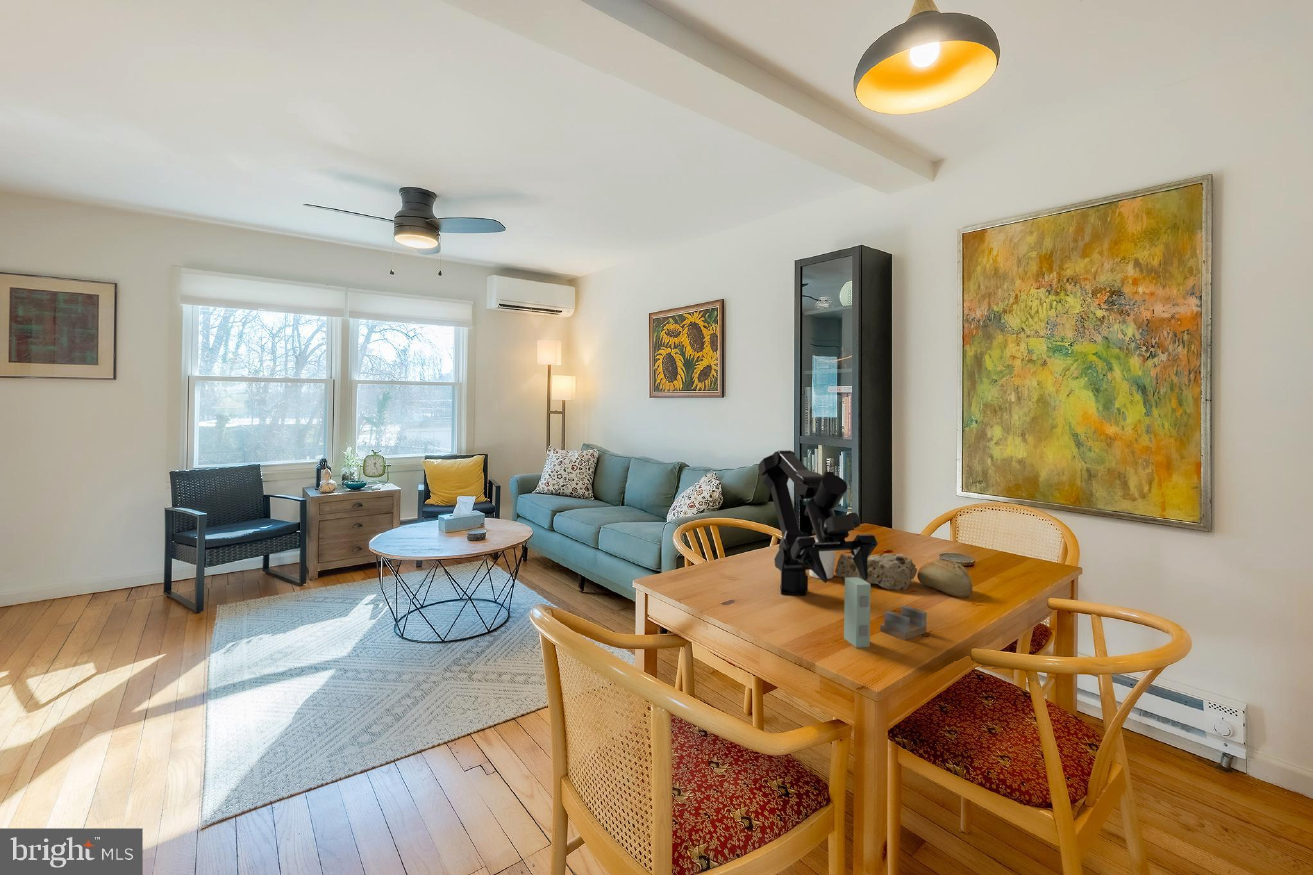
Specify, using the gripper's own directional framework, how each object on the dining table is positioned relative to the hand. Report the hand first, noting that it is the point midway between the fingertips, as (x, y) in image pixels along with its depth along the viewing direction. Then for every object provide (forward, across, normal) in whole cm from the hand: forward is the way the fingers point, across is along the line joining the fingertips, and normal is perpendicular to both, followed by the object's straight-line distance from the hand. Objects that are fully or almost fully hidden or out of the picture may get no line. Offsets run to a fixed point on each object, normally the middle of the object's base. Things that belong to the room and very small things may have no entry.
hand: (846, 580), depth 124 cm
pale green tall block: (+12, 0, +5) cm, 12 cm away
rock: (-16, +27, +32) cm, 45 cm away
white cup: (-21, +14, +37) cm, 45 cm away
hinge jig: (+9, +13, +7) cm, 17 cm away
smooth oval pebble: (-8, +40, +25) cm, 48 cm away
